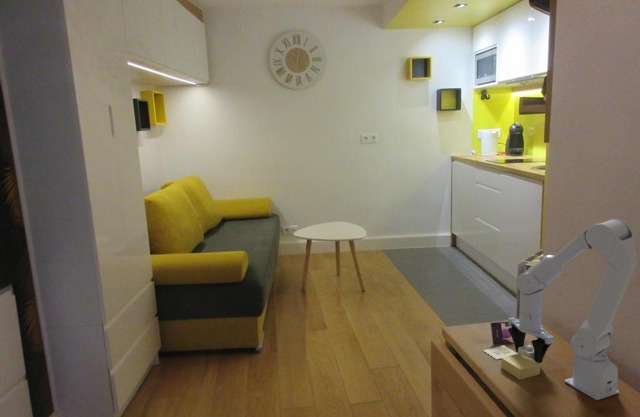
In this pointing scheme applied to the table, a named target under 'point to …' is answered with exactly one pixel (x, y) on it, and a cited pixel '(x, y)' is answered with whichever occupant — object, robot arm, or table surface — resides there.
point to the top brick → (527, 351)
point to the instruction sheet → (500, 352)
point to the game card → (500, 333)
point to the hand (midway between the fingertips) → (528, 356)
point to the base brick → (520, 366)
